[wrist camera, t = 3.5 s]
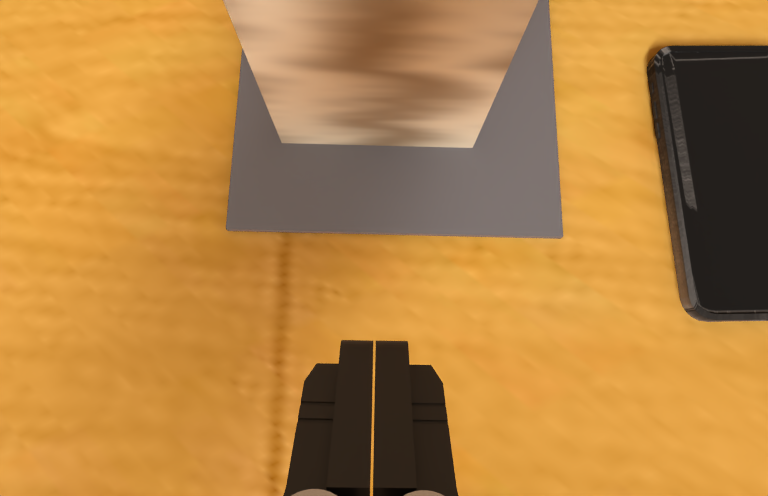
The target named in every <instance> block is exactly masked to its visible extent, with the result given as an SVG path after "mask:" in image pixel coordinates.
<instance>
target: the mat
mask: <svg viewBox="0 0 768 496" xmlns="http://www.w3.org/2000/svg"><path fill="white" fill-rule="evenodd" d="M226 229H227V230H228V231H257V232H300V233H343V234H386V235H429V236H472V237H515V238H558V239H560V238H562V237H563V227H562V211H561V195H560V178H559V162H558V146H557V129H556V113H555V97H554V80H553V64H552V48H551V31H550V15H549V0H538V3H537V5H536V7H535V9H534V12H533V14H532V16H531V18H530V21H529V23H528V25H527V27H526V30H525V32H524V34H523V36H522V38H521V41H520V43H519V45H518V47H517V50H516V52H515V54H514V56H513V59H512V61H511V63H510V65H509V68H508V70H507V72H506V74H505V76H504V79H503V81H502V83H501V85H500V88H499V90H498V92H497V94H496V97H495V99H494V101H493V103H492V106H491V108H490V110H489V112H488V115H487V117H486V119H485V121H484V123H483V126H482V128H481V130H480V132H479V135H478V137H477V139H476V141H475V144H474V146H473V148H454V147H415V146H376V145H337V144H298V143H282V142H281V140H280V138H279V135H278V133H277V130H276V128H275V125H274V123H273V121H272V118H271V116H270V113H269V111H268V108H267V106H266V104H265V101H264V99H263V96H262V94H261V91H260V89H259V87H258V84H257V82H256V79H255V77H254V74H253V72H252V70H251V67H250V65H249V62H248V60H247V57H246V55H245V53H244V50H243V48H242V58H241V69H240V80H239V90H238V101H237V112H236V123H235V134H234V145H233V156H232V167H231V178H230V189H229V199H228V210H227V221H226Z"/></svg>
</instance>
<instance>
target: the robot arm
mask: <svg viewBox="0 0 768 496" xmlns="http://www.w3.org/2000/svg"><path fill="white" fill-rule="evenodd" d="M372 375H373V341H355V340H342V341H341V346H340V356H339V364H320V363H317V364H316V365H315V367H314V368H313V370H312V371H311V372H310V374H309V375H308V377H307V378H306V379H305V381H304V387H303V392H302V398H301V405H300V410H299V416H298V423H297V427H296V433H295V439H294V445H293V450H292V456H291V462H290V468H289V474H288V479H287V485H286V489H285V493H284V495H283V496H370V469H371V425H372ZM447 421H448V420H447V412H446V407H445V397H444V389H443V383H442V381H441V380H440V378H439V377H438V375H437V374H436V372H435V370H434V369H433V367H432V366H431V365H409V351H408V342H407V341H376V362H375V411H374V470H373V496H458V493H457V488H456V480H455V473H454V465H453V458H452V450H451V442H450V435H449V427H448V422H447Z"/></svg>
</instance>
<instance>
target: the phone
mask: <svg viewBox="0 0 768 496" xmlns="http://www.w3.org/2000/svg"><path fill="white" fill-rule="evenodd" d="M647 76H648V83H649V90H650V96H651V103H652V110H653V117H654V125H655V132H656V138H657V144H658V151H659V158H660V165H661V172H662V179H663V185H664V192H665V199H666V206H667V213H668V220H669V226H670V233H671V240H672V247H673V254H674V261H675V268H676V274H677V281H678V288H679V295H680V300H681V303H682V306H683V308H684V309H685V311H686V312H687V313H688V314H689V315H690V316H691V317H693V318H695V319H697V320H699V321H706V322H715V321H768V46H667V47H664V48H662V49H661V50H660V51H659V52H658V53H657V54H656V55H655V56H654V57H653V58H652V59H651V60H650V62H649V64H648V66H647Z"/></svg>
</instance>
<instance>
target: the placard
mask: <svg viewBox="0 0 768 496" xmlns="http://www.w3.org/2000/svg"><path fill="white" fill-rule="evenodd" d="M223 2H224V4H225V6H226V9H227V11H228V14H229V16H230V19H231V21H232V23H233V26H234V28H235V31H236V33H237V36H238V38H239V40H240V43H241V45H242V48H243V50H244V53H245V55H246V57H247V60H248V62H249V65H250V67H251V70H252V72H253V74H254V77H255V79H256V82H257V84H258V87H259V89H260V91H261V94H262V96H263V99H264V101H265V104H266V106H267V108H268V111H269V113H270V116H271V118H272V121H273V123H274V125H275V128H276V130H277V133H278V135H279V138H280V140H281V142H282V143H298V144H337V145H376V146H415V147H454V148H473V146H474V144H475V141H476V139H477V137H478V135H479V132H480V130H481V128H482V126H483V123H484V121H485V119H486V117H487V115H488V112H489V110H490V108H491V106H492V103H493V101H494V99H495V97H496V94H497V92H498V90H499V88H500V85H501V83H502V81H503V79H504V76H505V74H506V72H507V70H508V68H509V65H510V63H511V61H512V59H513V56H514V54H515V52H516V50H517V47H518V45H519V43H520V41H521V38H522V36H523V34H524V32H525V30H526V27H527V25H528V23H529V21H530V18H531V16H532V14H533V12H534V9H535V7H536V5H537V3H538V0H223Z"/></svg>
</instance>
